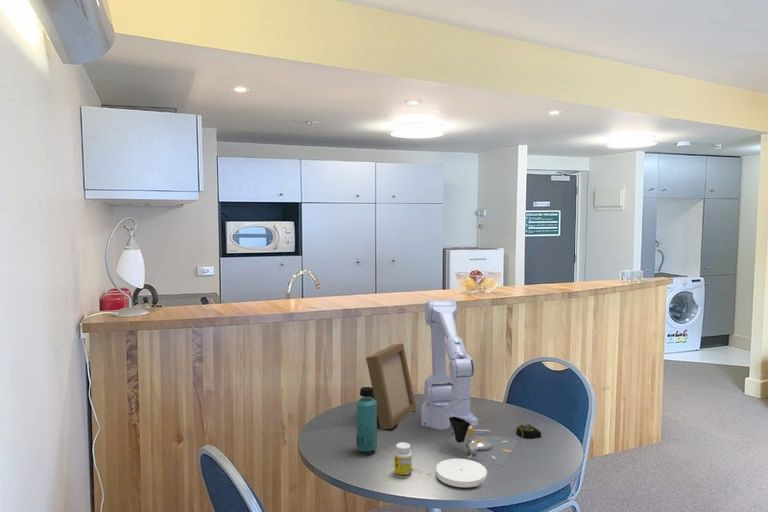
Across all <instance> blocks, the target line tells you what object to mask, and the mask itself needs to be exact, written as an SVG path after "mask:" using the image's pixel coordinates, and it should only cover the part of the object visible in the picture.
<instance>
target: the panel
mask: <svg viewBox="0 0 768 512" xmlns="http://www.w3.org/2000/svg"><path fill="white" fill-rule="evenodd" d="M473 436H481V437H486V438H488V439H490V440H491V441H492V448H491V449H489V450H484V451H479V450H478V451H477V452H476V455H469V454H468V447H467V446H466V439H467V438H469V437H473ZM473 436H465V440H464V442H460V443H458V442H457V441H456V438H455V435H454V434H453V435H452V436H451V437H450V438H449V439H448V440H447V441H446V442H445V443H444V444H443V445H442V446H440V448H439V449H438V450H437V451H436V452H437V453H442V454H446V455H452V456H455V457H460V458H464V459H468V460H473V461H479V462H484V463H488V464H493V465H498V466H502V467H503V466H504V465H505V463H506V462H507V460H508V458H509V457H510V455H511V454H512V452H513V450H514V449H515V448H516V446H517V444H518V443H519V439H513V438H508V437H502V436H499V435H498V436H497V435H493V434H487V433H484V432H473Z"/></svg>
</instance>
